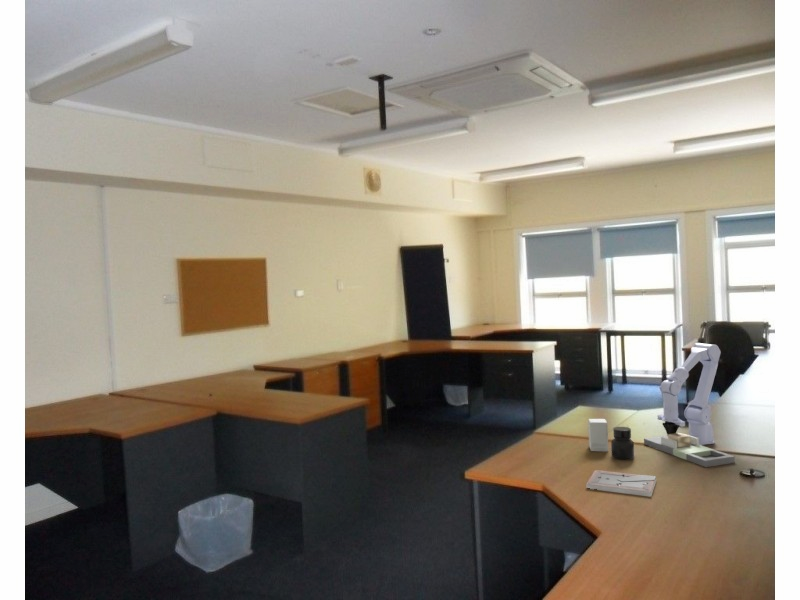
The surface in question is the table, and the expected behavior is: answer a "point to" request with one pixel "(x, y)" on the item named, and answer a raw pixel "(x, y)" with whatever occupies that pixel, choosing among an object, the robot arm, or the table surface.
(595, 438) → the supplement box
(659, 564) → the table surface
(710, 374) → the robot arm
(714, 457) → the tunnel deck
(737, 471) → the table surface
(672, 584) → the table surface
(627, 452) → the ink bottle
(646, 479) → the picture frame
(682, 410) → the vhs cassette tape
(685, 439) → the birch block
